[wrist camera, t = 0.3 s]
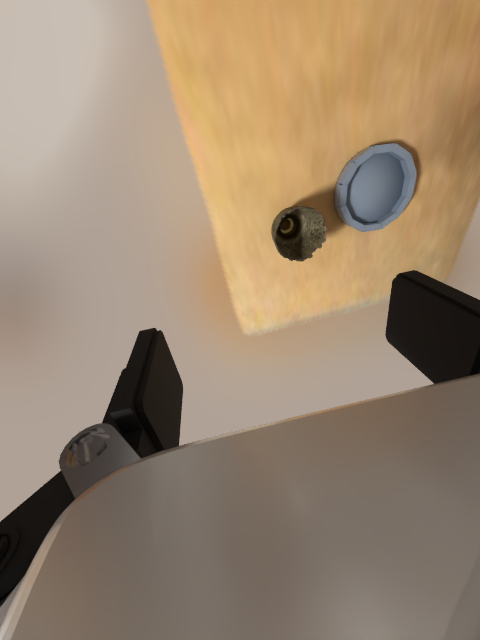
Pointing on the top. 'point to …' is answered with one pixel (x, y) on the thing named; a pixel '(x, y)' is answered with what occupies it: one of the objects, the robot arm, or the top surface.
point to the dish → (375, 187)
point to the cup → (298, 233)
